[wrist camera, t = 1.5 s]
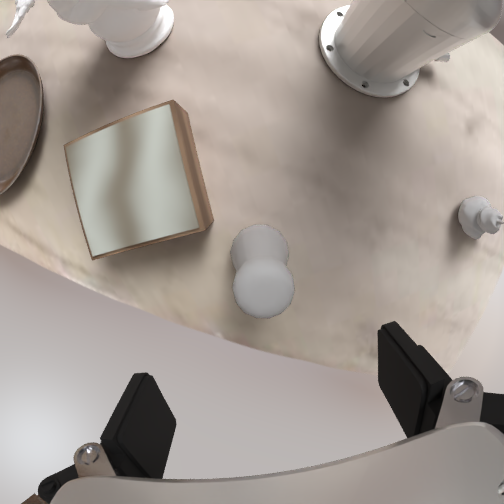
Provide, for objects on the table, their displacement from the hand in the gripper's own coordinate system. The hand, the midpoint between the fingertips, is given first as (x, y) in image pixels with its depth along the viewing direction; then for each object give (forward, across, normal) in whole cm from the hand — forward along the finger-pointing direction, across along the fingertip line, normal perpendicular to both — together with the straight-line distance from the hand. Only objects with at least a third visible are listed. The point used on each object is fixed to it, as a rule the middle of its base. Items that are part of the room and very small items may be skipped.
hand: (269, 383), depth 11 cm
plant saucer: (+22, +31, -26) cm, 46 cm away
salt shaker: (+22, 0, 0) cm, 22 cm away
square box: (+22, +10, -10) cm, 26 cm away
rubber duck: (+22, -28, +2) cm, 36 cm away
